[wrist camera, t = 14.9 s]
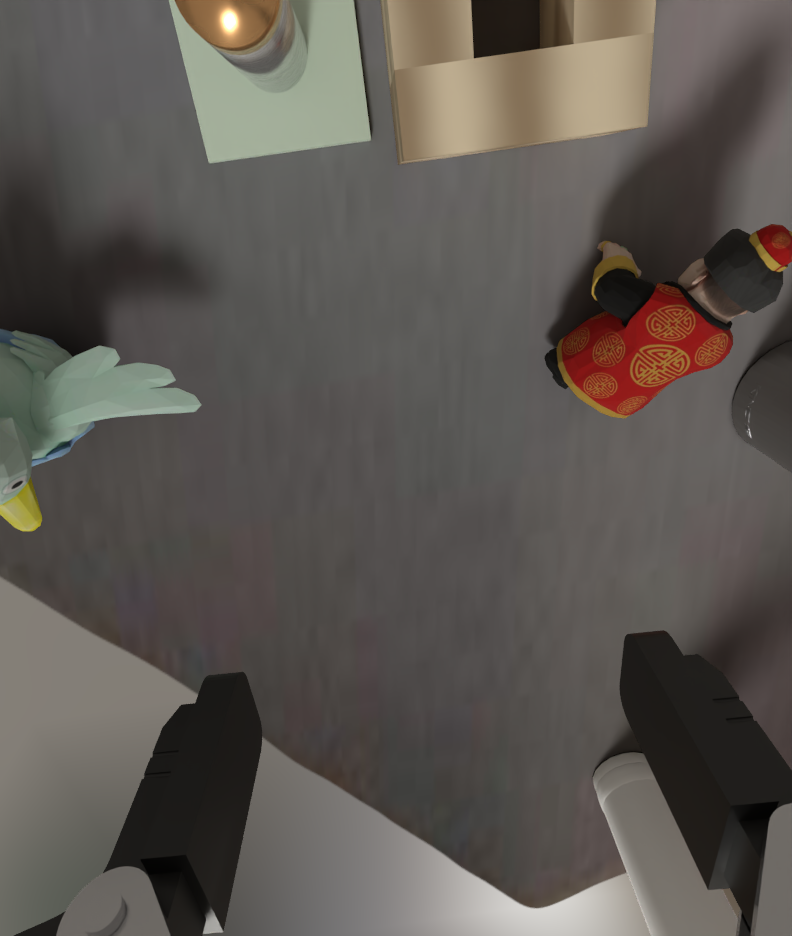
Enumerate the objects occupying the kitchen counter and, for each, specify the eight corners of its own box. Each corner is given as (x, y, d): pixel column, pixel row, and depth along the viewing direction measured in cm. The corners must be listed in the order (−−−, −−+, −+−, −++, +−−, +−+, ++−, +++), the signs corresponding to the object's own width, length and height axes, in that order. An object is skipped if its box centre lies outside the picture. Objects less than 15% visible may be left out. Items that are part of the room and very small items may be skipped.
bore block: (615, -154, 29) (672, -232, 23) (603, 135, 35) (647, 126, 29) (367, -117, 29) (367, -186, 24) (398, 164, 35) (403, 160, 30)
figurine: (622, 358, 46) (812, 211, 34) (636, 450, 40) (868, 312, 29) (530, 303, 42) (706, 122, 31) (531, 395, 37) (746, 217, 26)
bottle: (599, 750, 62) (777, 1178, 35) (667, 749, 62) (893, 1171, 36) (585, 795, 66) (735, 1214, 39) (649, 794, 66) (841, 1206, 39)
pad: (343, -75, 30) (343, -80, 29) (371, 140, 34) (371, 139, 34) (159, -48, 30) (156, -52, 29) (211, 163, 34) (208, 162, 34)
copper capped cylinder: (299, 1, 31) (263, -99, 20) (313, 87, 32) (287, 39, 22) (227, 11, 31) (153, -82, 20) (245, 97, 32) (186, 54, 22)
